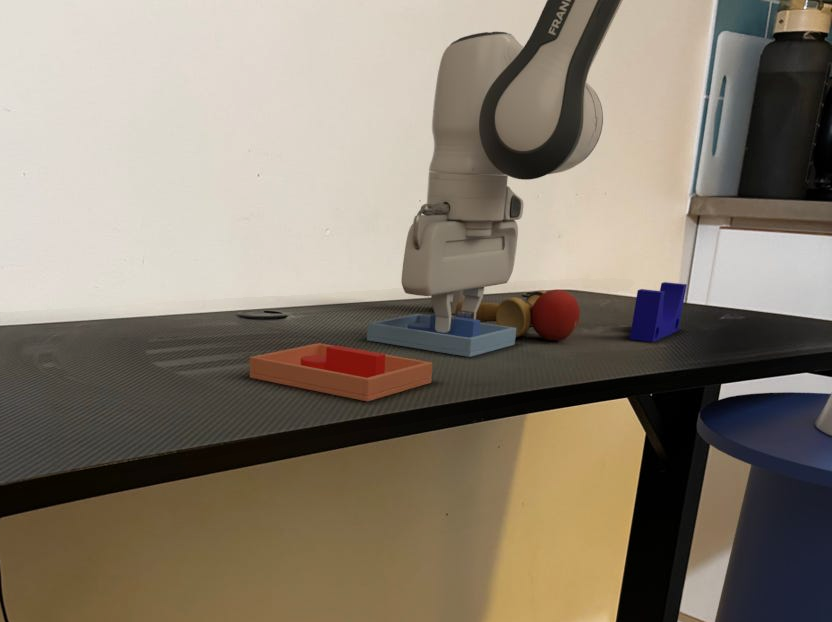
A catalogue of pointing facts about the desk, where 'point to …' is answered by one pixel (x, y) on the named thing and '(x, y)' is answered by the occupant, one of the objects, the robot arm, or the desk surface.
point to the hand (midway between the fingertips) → (455, 329)
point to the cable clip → (657, 312)
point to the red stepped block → (348, 361)
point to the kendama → (534, 314)
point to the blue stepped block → (461, 327)
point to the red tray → (339, 374)
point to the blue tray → (440, 337)
